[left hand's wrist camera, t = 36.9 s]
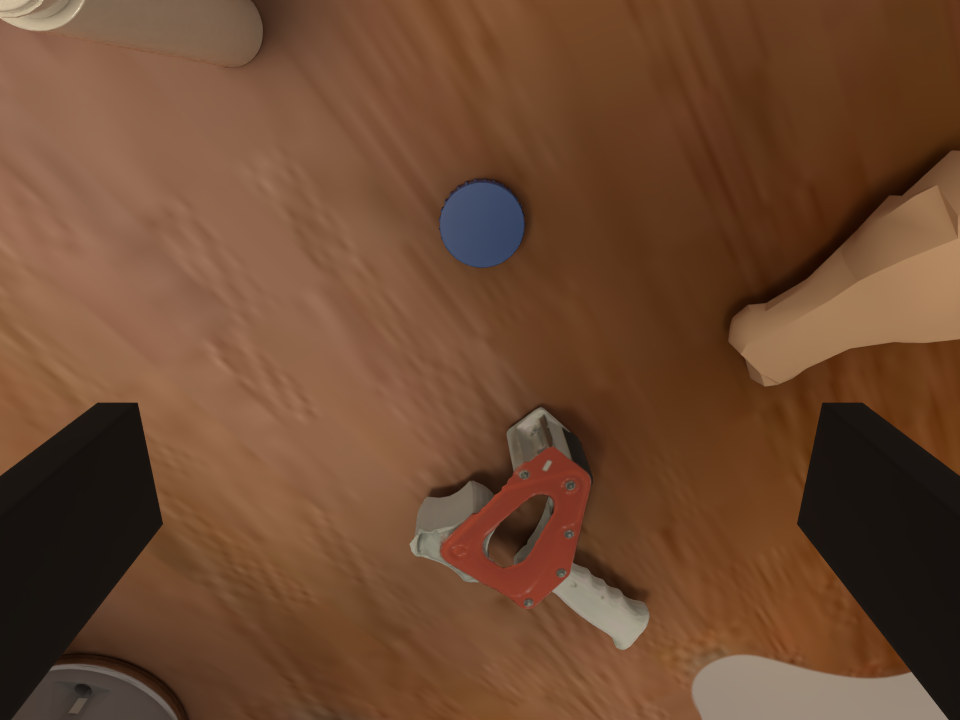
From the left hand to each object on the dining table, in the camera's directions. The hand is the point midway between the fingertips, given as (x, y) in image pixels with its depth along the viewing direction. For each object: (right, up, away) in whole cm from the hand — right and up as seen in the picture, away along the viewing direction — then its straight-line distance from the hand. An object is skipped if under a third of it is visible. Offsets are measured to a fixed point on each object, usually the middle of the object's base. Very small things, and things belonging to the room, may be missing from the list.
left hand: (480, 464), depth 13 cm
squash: (+25, +8, +29) cm, 39 cm away
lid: (0, +10, +26) cm, 28 cm away
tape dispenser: (+4, -10, +36) cm, 38 cm away
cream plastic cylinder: (-14, +21, +24) cm, 35 cm away
